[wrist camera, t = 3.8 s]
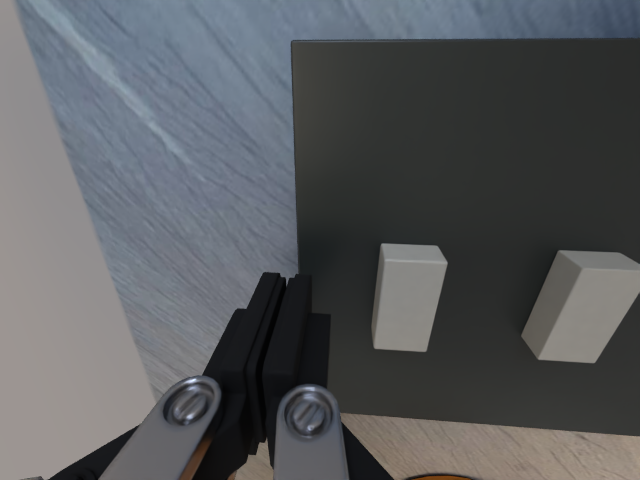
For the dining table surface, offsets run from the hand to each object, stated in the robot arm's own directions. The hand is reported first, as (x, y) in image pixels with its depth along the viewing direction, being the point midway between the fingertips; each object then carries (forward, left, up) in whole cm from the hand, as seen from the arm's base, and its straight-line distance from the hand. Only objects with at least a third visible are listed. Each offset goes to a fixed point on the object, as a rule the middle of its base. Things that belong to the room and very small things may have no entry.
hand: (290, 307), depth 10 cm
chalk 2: (0, +10, -1) cm, 10 cm away
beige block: (0, +4, -1) cm, 4 cm away
